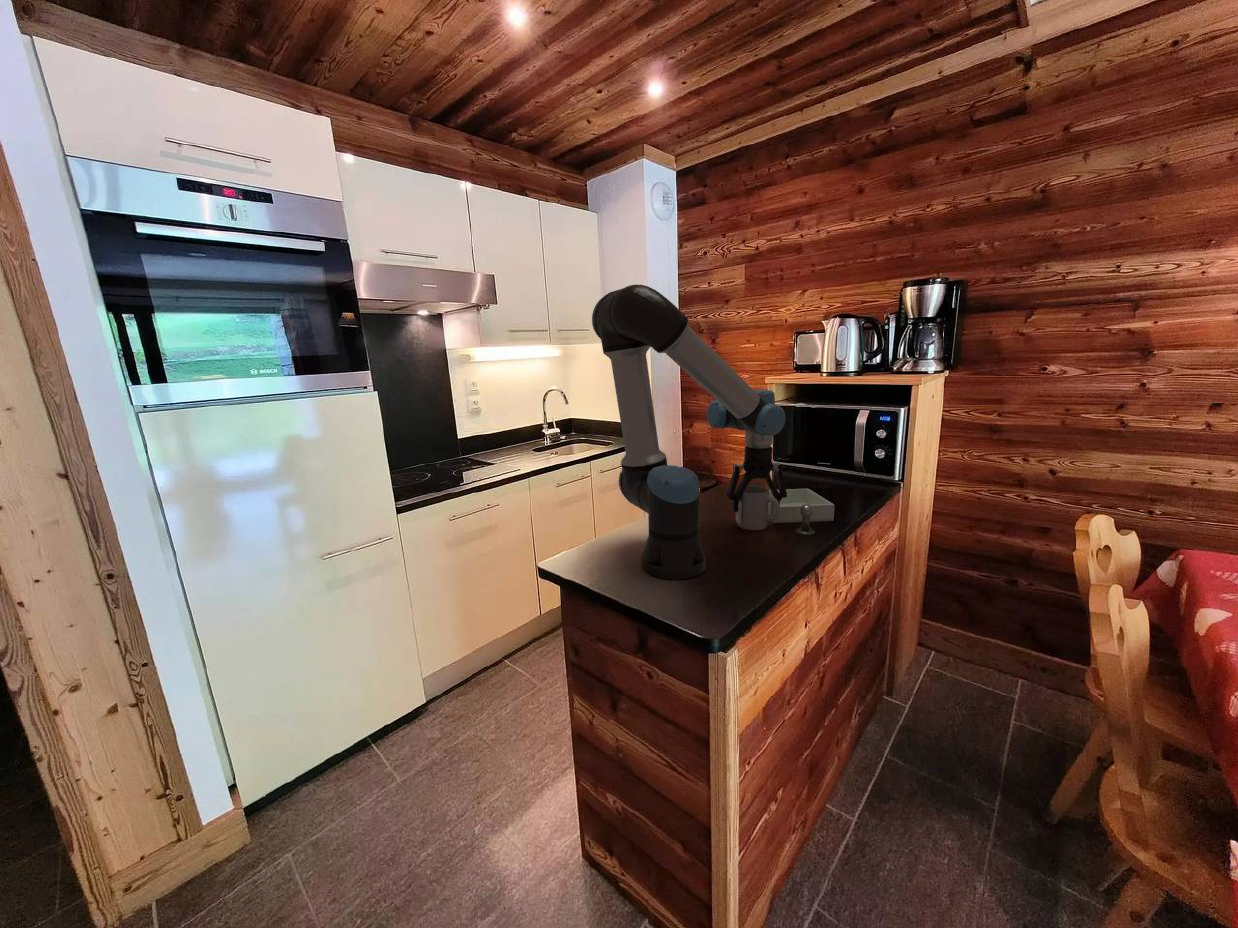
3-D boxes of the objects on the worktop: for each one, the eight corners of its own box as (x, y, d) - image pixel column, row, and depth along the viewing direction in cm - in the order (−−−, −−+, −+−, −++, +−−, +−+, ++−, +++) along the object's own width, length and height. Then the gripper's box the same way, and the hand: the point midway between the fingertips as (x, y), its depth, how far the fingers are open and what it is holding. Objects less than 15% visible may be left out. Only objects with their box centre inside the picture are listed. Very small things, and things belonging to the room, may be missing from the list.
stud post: (800, 535, 131) (801, 507, 130) (792, 529, 136) (794, 502, 134) (818, 535, 131) (819, 506, 130) (810, 528, 136) (811, 501, 135)
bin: (773, 523, 141) (774, 507, 140) (754, 505, 159) (754, 490, 158) (833, 520, 142) (834, 504, 141) (807, 502, 160) (808, 488, 159)
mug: (732, 526, 140) (733, 490, 137) (745, 518, 146) (746, 483, 144) (772, 535, 132) (774, 497, 130) (784, 526, 139) (785, 490, 136)
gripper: (723, 449, 130) (721, 527, 135) (803, 446, 131) (798, 524, 136) (716, 444, 137) (714, 518, 142) (792, 442, 138) (788, 515, 143)
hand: (755, 521), depth 139 cm, fingers closed on mug, 9 cm apart
